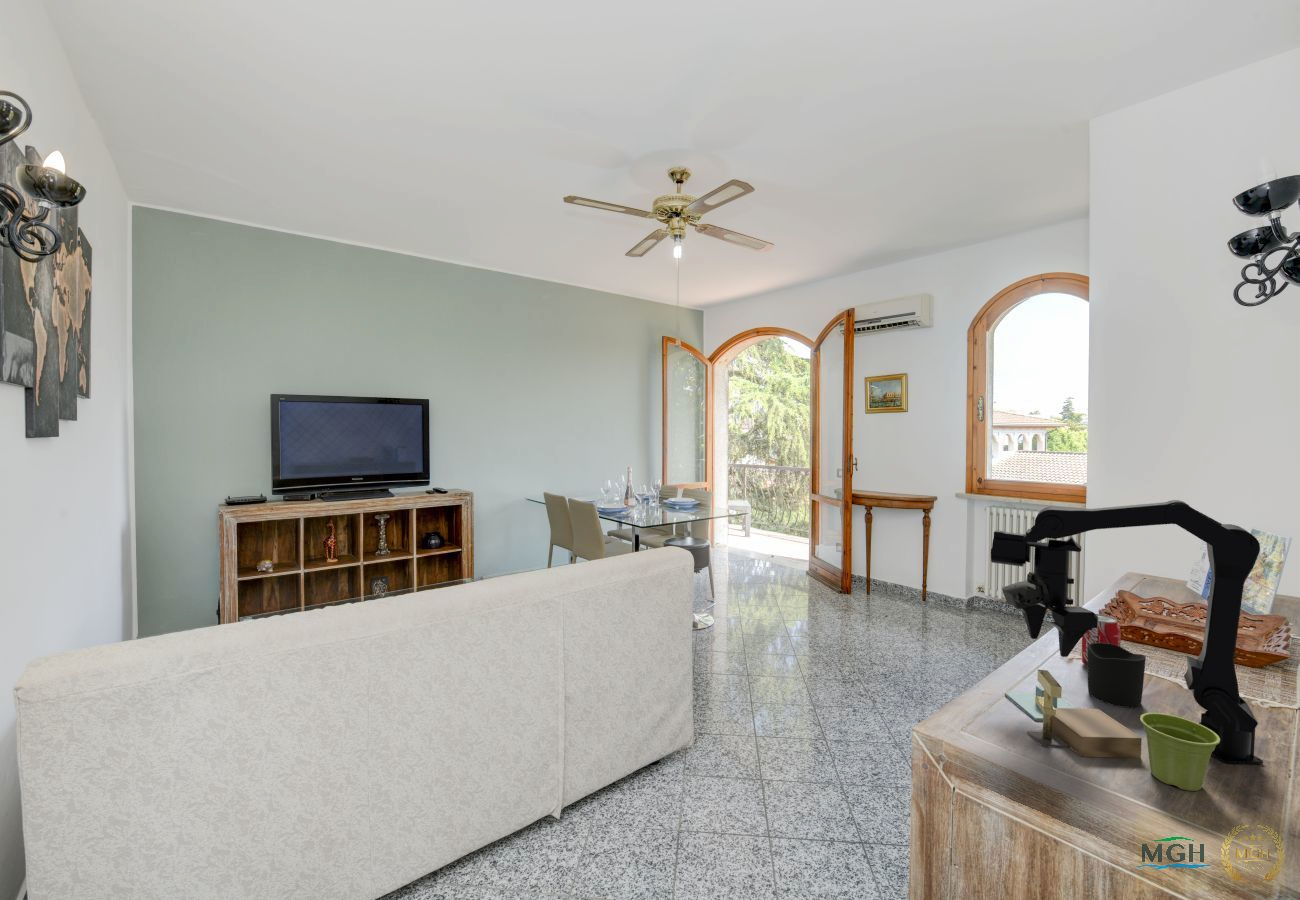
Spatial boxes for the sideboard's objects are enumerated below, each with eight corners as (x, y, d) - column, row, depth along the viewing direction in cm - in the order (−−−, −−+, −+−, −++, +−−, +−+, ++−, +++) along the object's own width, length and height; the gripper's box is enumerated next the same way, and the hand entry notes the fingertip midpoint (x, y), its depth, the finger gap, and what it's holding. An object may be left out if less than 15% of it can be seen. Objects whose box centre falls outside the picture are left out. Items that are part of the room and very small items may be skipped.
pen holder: (1135, 693, 122) (1137, 647, 121) (1150, 713, 113) (1152, 664, 113) (1081, 684, 126) (1083, 639, 126) (1091, 702, 118) (1093, 655, 117)
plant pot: (1176, 761, 97) (1178, 712, 97) (1234, 798, 88) (1237, 743, 87) (1122, 762, 97) (1125, 712, 96) (1175, 799, 87) (1178, 744, 87)
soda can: (1073, 663, 137) (1075, 614, 136) (1095, 660, 139) (1096, 611, 138) (1104, 676, 130) (1107, 624, 129) (1126, 672, 132) (1129, 621, 131)
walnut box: (1097, 727, 108) (1098, 708, 108) (1140, 757, 98) (1141, 738, 98) (1018, 725, 109) (1018, 707, 109) (1052, 755, 99) (1053, 736, 99)
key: (1034, 725, 108) (1036, 668, 107) (1045, 727, 107) (1047, 669, 107) (1048, 746, 101) (1050, 685, 100) (1060, 748, 100) (1062, 687, 100)
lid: (1055, 699, 120) (1056, 677, 120) (1091, 725, 110) (1092, 701, 110) (1004, 698, 121) (1005, 676, 121) (1035, 724, 110) (1036, 700, 110)
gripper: (984, 558, 124) (982, 629, 124) (1039, 582, 105) (1036, 666, 106) (1037, 559, 123) (1034, 630, 124) (1102, 583, 105) (1098, 667, 105)
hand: (1048, 647), depth 115 cm, fingers open, 9 cm apart
